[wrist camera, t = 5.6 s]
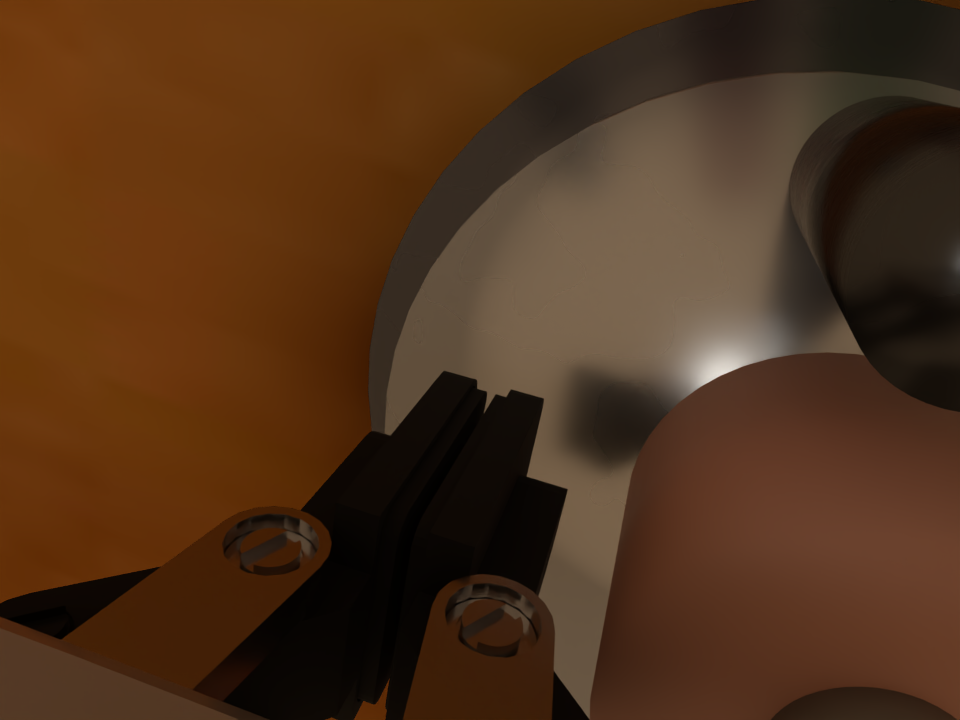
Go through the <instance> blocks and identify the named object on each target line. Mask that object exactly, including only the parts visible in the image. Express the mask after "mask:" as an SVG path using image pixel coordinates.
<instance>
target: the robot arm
mask: <svg viewBox="0 0 960 720" xmlns="http://www.w3.org/2000/svg"><path fill="white" fill-rule="evenodd" d="M486 400H487V391H483V390H480V389H477V380H476V379H473V378H469V377H466V376H462V375H458V374H455V373H451V372H448V371H443V372H442V373H441V374H440V375H439V377H438V378H437V379H436V380H435V382H434V383H433V384H432V385H431V386H430V388H429V389H428V390H427V391H426V393H425V394H424V395H423V396H422V397H421V399H420V400H419V401H418V402H417V404H416V405H415V406H414V407H413V408H412V410H411V411H410V412H409V413H408V415H407V416H406V417H405V418H404V420H403V421H402V422H401V423H400V424H399V426H398V427H397V428H396V429H395V431H394V432H393V433H392V434H391V435H387V434H383V433H380V432H377V431H371V432H370V433H369V434H368V435H366V437H365V438H364V439H363V440H362V441H361V442H360V443H359V444H358V446H357V447H356V448H355V449H354V450H353V451H352V452H351V454H350V455H349V456H348V457H347V458H346V459H345V460H344V462H343V463H342V464H341V465H340V466H339V467H338V468H337V469H336V471H335V472H334V473H333V474H332V475H331V476H330V477H329V479H328V480H327V481H326V482H325V483H324V484H323V485H322V487H321V488H320V489H319V490H318V491H317V492H316V493H315V495H314V496H313V497H312V498H311V499H310V500H309V501H308V502H307V504H306V505H305V506H304V507H303V508H302V509H301V510H296V509H293V508H287V507H278V506H269V507H257V508H253V509H250V510H246V511H242V512H239V513H237V514H235V515H234V516H232V517H230V518H228V519H226V520H224V521H223V522H222V523H220V524H219V525H218V526H216V527H215V528H214V529H212V530H211V531H209V532H208V533H207V534H205V535H204V536H203V537H201V538H200V539H198V540H197V541H196V542H194V543H193V544H192V545H190V546H189V547H187V548H186V549H185V550H183V551H182V552H181V553H179V554H178V555H177V556H175V557H174V558H172V559H171V560H170V561H168V562H167V563H166V564H164V565H163V566H161V567H157V568H152V569H147V570H142V571H137V572H132V573H127V574H122V575H117V576H112V577H107V578H103V579H98V580H93V581H88V582H83V583H78V584H73V585H68V586H63V587H58V588H53V589H48V590H43V591H38V592H33V593H29V594H26V595H22V596H19V597H16V598H12V599H9V600H6V601H4V602H2V603H0V720H325V719H328V718H331V717H332V718H335V719H337V720H354V718H355V716H356V714H357V712H358V710H359V708H360V706H361V705H362V703H363V701H366V702H368V703H371V704H376V703H377V702H378V700H379V698H380V696H381V694H382V692H383V690H384V688H385V686H386V684H387V682H388V680H389V678H390V680H389V686H388V692H387V699H386V706H385V707H386V709H387V713H386V719H385V720H590V719H589V718H588V717H587V715H586V714H585V713H584V711H583V710H582V708H581V707H580V706H579V704H578V703H577V702H576V700H575V699H574V698H573V696H572V695H571V693H570V692H569V691H568V689H567V688H566V687H565V685H564V684H563V683H562V681H561V680H560V678H559V677H558V676H557V674H556V673H555V672H554V649H555V628H554V621H553V617H552V615H551V613H550V611H549V609H548V608H547V606H546V604H545V603H544V602H543V601H542V600H541V599H540V598H539V597H538V596H539V593H540V590H541V586H542V583H543V579H544V576H545V573H546V569H547V566H548V562H549V558H550V555H551V551H552V548H553V544H554V540H555V537H556V533H557V529H558V525H559V522H560V518H561V514H562V510H563V507H564V503H565V499H566V495H567V491H568V489H566V488H563V487H560V486H556V485H553V484H550V483H546V482H543V481H540V480H536V479H533V478H530V477H527V473H528V469H529V465H530V460H531V456H532V452H533V448H534V443H535V439H536V435H537V430H538V426H539V422H540V418H541V413H542V409H543V404H544V398H541V397H537V396H533V395H530V394H526V393H523V392H519V391H516V390H512V389H511V390H510V391H509V393H508V395H507V397H504V396H501V395H497V394H496V395H495V396H494V398H493V399H492V401H491V403H490V404H489V406H488V408H487V409H486V411H485V413H484V410H485V405H486Z"/></svg>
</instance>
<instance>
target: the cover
mask: <svg viewBox="0 0 960 720" xmlns="http://www.w3.org/2000/svg"><path fill="white" fill-rule="evenodd" d="M590 720H960V412H956V411H951V410H946V409H942V408H939V407H936V406H933V405H930V404H927V403H924V402H922V401H920V400H918V399H916V398H913V397H911V396H909V395H908V394H906V393H904V392H903V391H901V390H900V389H898V388H896V387H895V386H893V385H892V384H891V383H890V382H889V381H887V380H886V379H885V378H884V377H882V376H881V375H880V374H879V373H878V371H877V370H876V369H875V368H874V367H873V366H872V365H871V364H870V363H869V361H868V360H867V358H866V357H865V355H859V354H846V353H830V352H825V353H806V354H795V355H789V356H783V357H777V358H770V359H767V360H763V361H760V362H756V363H753V364H749V365H746V366H743V367H740V368H738V369H736V370H733V371H731V372H728V373H726V374H724V375H721V376H719V377H717V378H715V379H714V380H712V381H710V382H708V383H707V384H705V385H703V386H701V387H700V388H698V389H696V390H695V391H694V392H692V393H691V394H690V395H688V396H687V397H686V398H684V399H683V400H682V401H680V402H679V403H678V404H677V405H676V406H675V407H674V408H673V409H672V410H671V411H670V412H669V413H668V414H667V415H666V416H665V417H664V418H663V419H662V420H661V421H660V422H659V424H658V425H657V426H656V428H655V429H654V430H653V431H652V433H651V434H650V435H649V437H648V439H647V440H646V442H645V444H644V446H643V448H642V449H641V451H640V453H639V455H638V458H637V460H636V463H635V466H634V468H633V471H632V474H631V479H630V484H629V489H628V494H627V500H626V505H625V510H624V516H623V521H622V527H621V532H620V538H619V543H618V549H617V554H616V560H615V565H614V571H613V576H612V582H611V587H610V592H609V598H608V603H607V609H606V614H605V620H604V625H603V631H602V636H601V642H600V647H599V653H598V658H597V664H596V669H595V674H594V680H593V685H592V691H591V696H590Z"/></svg>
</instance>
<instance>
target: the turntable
mask: <svg viewBox="0 0 960 720" xmlns="http://www.w3.org/2000/svg"><path fill="white" fill-rule="evenodd" d="M825 352H830V353H846V354H859V355H865V357H866V358H867V360H868V361H869V363H870V364H871V365H872V366H873V367H874V368H875V369H876V370H877V371H878V373H879V374H880V375H881V376H882V377H884V378H885V379H886V380H887V381H889V382H890V383H891V384H892V385H893V386H895V387H896V388H898V389H900V390H901V391H903V392H904V393H906V394H908V395H909V396H911V397H913V398H916V399H918V400H920V401H922V402H924V403H927V404H930V405H933V406H936V407H939V408H942V409H946V410H951V411H956V412H960V91H958V90H954V89H950V88H946V87H942V86H938V85H934V84H930V83H926V82H922V81H918V80H911V79H904V78H896V77H887V76H878V75H869V74H860V73H851V72H842V71H787V72H765V73H759V74H752V75H746V76H739V77H733V78H726V79H719V80H713V81H707V82H704V83H700V84H697V85H693V86H690V87H686V88H683V89H679V90H676V91H672V92H669V93H665V94H662V95H658V96H655V97H652V98H649V99H647V100H645V101H642V102H640V103H638V104H635V105H633V106H631V107H628V108H626V109H624V110H621V111H619V112H617V113H614V114H612V115H610V116H608V117H605V118H603V119H601V120H599V121H597V122H595V123H594V124H592V125H590V126H589V127H587V128H585V129H584V130H582V131H580V132H579V133H577V134H575V135H573V136H572V137H570V138H568V139H567V140H565V141H563V142H562V143H560V144H558V145H557V146H555V147H553V148H552V149H550V150H548V151H547V152H545V153H544V154H542V155H540V156H539V157H537V158H536V159H535V160H533V161H532V162H531V163H530V164H528V165H527V166H526V167H525V168H523V169H522V170H521V171H520V172H518V173H517V174H516V175H515V176H513V177H512V178H511V179H510V180H508V181H507V182H506V183H505V184H503V185H502V186H501V187H500V188H498V189H497V190H496V191H495V192H494V193H493V194H492V195H491V196H490V197H489V198H488V199H487V200H486V201H485V202H484V203H483V204H482V205H481V206H480V207H479V208H478V209H477V210H476V212H475V213H474V214H473V215H472V216H471V217H470V218H469V219H468V220H467V221H466V222H465V223H464V224H463V225H462V226H461V227H460V228H459V230H458V231H457V232H456V234H455V235H454V237H453V238H452V239H451V241H450V242H449V244H448V245H447V246H446V248H445V249H444V251H443V252H442V253H441V255H440V256H439V257H438V259H437V260H436V262H435V263H434V264H433V266H432V267H431V269H430V271H429V273H428V275H427V276H426V278H425V280H424V282H423V284H422V286H421V288H420V290H419V292H418V294H417V296H416V298H415V300H414V301H413V303H412V305H411V307H410V309H409V312H408V315H407V318H406V321H405V323H404V326H403V329H402V332H401V335H400V338H399V341H398V343H397V346H396V349H395V353H394V358H393V363H392V368H391V373H390V379H389V384H388V389H387V399H386V418H385V434H387V435H391V434H392V433H393V432H394V431H395V429H396V428H397V427H398V426H399V424H400V423H401V422H402V421H403V420H404V418H405V417H406V416H407V415H408V413H409V412H410V411H411V410H412V408H413V407H414V406H415V405H416V404H417V402H418V401H419V400H420V399H421V397H422V396H423V395H424V394H425V393H426V391H427V390H428V389H429V388H430V386H431V385H432V384H433V383H434V382H435V380H436V379H437V378H438V377H439V375H440V374H441V373H442V372H443V371H448V372H451V373H455V374H458V375H462V376H466V377H469V378H473V379H476V380H477V389H480V390H483V391H487V400H486V405H485V410H484V413H485V411H486V409H487V408H488V406H489V404H490V403H491V401H492V399H493V398H494V396H495V395H496V394H497V395H501V396H504V397H507V395H508V393H509V391H510V390H511V389H512V390H516V391H519V392H523V393H526V394H530V395H533V396H537V397H541V398H544V404H543V409H542V413H541V418H540V422H539V426H538V430H537V435H536V439H535V443H534V448H533V452H532V456H531V460H530V465H529V469H528V473H527V477H530V478H533V479H536V480H540V481H543V482H546V483H550V484H553V485H556V486H560V487H563V488H566V489H568V491H567V495H566V499H565V503H564V507H563V510H562V514H561V518H560V522H559V525H558V529H557V533H556V537H555V540H554V544H553V548H552V551H551V555H550V558H549V562H548V566H547V569H546V573H545V576H544V579H543V583H542V586H541V590H540V593H539V596H538V597H539V598H540V599H541V600H542V601H543V602H544V603H545V604H546V606H547V608H548V609H549V611H550V613H551V615H552V617H553V621H554V628H555V649H554V672H555V673H556V674H557V676H558V677H559V678H560V680H561V681H562V683H563V684H564V685H565V687H566V688H567V689H568V691H569V692H570V693H571V695H572V696H573V698H574V699H575V700H576V702H577V703H578V704H579V706H580V707H581V708H582V710H583V711H584V713H585V714H586V715H587V717H588V718H589V719H590V696H591V691H592V685H593V680H594V674H595V669H596V664H597V658H598V653H599V647H600V642H601V636H602V631H603V625H604V620H605V614H606V609H607V603H608V598H609V592H610V587H611V582H612V576H613V571H614V565H615V560H616V554H617V549H618V543H619V538H620V532H621V527H622V521H623V516H624V510H625V505H626V500H627V494H628V489H629V484H630V479H631V474H632V471H633V468H634V466H635V463H636V460H637V458H638V455H639V453H640V451H641V449H642V448H643V446H644V444H645V442H646V440H647V439H648V437H649V435H650V434H651V433H652V431H653V430H654V429H655V428H656V426H657V425H658V424H659V422H660V421H661V420H662V419H663V418H664V417H665V416H666V415H667V414H668V413H669V412H670V411H671V410H672V409H673V408H674V407H675V406H676V405H677V404H678V403H679V402H680V401H682V400H683V399H684V398H686V397H687V396H688V395H690V394H691V393H692V392H694V391H695V390H696V389H698V388H700V387H701V386H703V385H705V384H707V383H708V382H710V381H712V380H714V379H715V378H717V377H719V376H721V375H724V374H726V373H728V372H731V371H733V370H736V369H738V368H740V367H743V366H746V365H749V364H753V363H756V362H760V361H763V360H767V359H770V358H777V357H783V356H789V355H795V354H806V353H825Z"/></svg>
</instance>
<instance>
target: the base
mask: <svg viewBox="0 0 960 720" xmlns="http://www.w3.org/2000/svg"><path fill="white" fill-rule="evenodd" d="M787 71H842V72H851V73H860V74H869V75H878V76H887V77H896V78H904V79H911V80H918V81H922V82H926V83H930V84H934V85H938V86H942V87H946V88H950V89H954V90H958V91H960V10H959V9H955V8H950V7H946V6H942V5H938V4H933V3H929V2H925V1H919V0H755V1H749V2H744V3H738V4H733V5H727V6H722V7H716V8H711V9H705V10H700V11H697V12H694V13H691V14H688V15H685V16H682V17H679V18H675V19H672V20H669V21H666V22H663V23H660V24H657V25H654V26H650V27H647V28H644V29H641V30H638V31H635V32H633V33H631V34H629V35H627V36H624V37H622V38H620V39H618V40H616V41H614V42H612V43H610V44H608V45H605V46H603V47H601V48H599V49H597V50H595V51H593V52H591V53H589V54H586V55H584V56H582V57H580V58H578V59H576V60H574V61H573V62H571V63H570V64H568V65H567V66H565V67H564V68H562V69H560V70H559V71H557V72H556V73H554V74H553V75H551V76H550V77H548V78H546V79H545V80H543V81H542V82H540V83H539V84H537V85H536V86H534V87H533V88H531V89H529V90H528V91H526V92H525V93H523V94H522V95H521V96H520V97H519V98H518V99H516V100H515V101H514V102H513V103H512V104H511V105H509V106H508V107H507V108H506V109H505V110H504V111H502V112H501V113H500V114H499V115H498V116H497V117H495V118H494V119H493V120H492V121H491V122H489V123H488V124H487V125H486V126H485V127H484V128H482V129H481V130H480V131H479V132H478V133H477V134H476V136H475V137H474V138H473V139H472V140H471V141H470V142H469V143H468V145H467V146H466V147H465V148H464V149H463V150H462V151H461V152H460V153H459V155H458V156H457V157H456V158H455V159H454V160H453V161H452V162H451V164H450V165H449V166H448V167H447V168H446V169H445V170H444V171H443V173H442V174H441V176H440V177H439V179H438V180H437V182H436V183H435V185H434V186H433V188H432V189H431V191H430V192H429V193H428V195H427V196H426V198H425V199H424V201H423V202H422V204H421V205H420V207H419V208H418V210H417V211H416V213H415V214H414V216H413V218H412V220H411V222H410V224H409V226H408V228H407V230H406V232H405V235H404V237H403V239H402V241H401V243H400V245H399V247H398V249H397V251H396V253H395V255H394V257H393V259H392V262H391V265H390V268H389V271H388V274H387V277H386V281H385V284H384V287H383V290H382V293H381V296H380V299H379V302H378V306H377V312H376V317H375V323H374V329H373V334H372V340H371V345H370V361H369V386H368V394H369V404H370V415H371V426H372V431H377V432H380V433H383V434H385V418H386V399H387V389H388V384H389V379H390V373H391V368H392V363H393V358H394V353H395V349H396V346H397V343H398V341H399V338H400V335H401V332H402V329H403V326H404V323H405V321H406V318H407V315H408V312H409V309H410V307H411V305H412V303H413V301H414V300H415V298H416V296H417V294H418V292H419V290H420V288H421V286H422V284H423V282H424V280H425V278H426V276H427V275H428V273H429V271H430V269H431V267H432V266H433V264H434V263H435V262H436V260H437V259H438V257H439V256H440V255H441V253H442V252H443V251H444V249H445V248H446V246H447V245H448V244H449V242H450V241H451V239H452V238H453V237H454V235H455V234H456V232H457V231H458V230H459V228H460V227H461V226H462V225H463V224H464V223H465V222H466V221H467V220H468V219H469V218H470V217H471V216H472V215H473V214H474V213H475V212H476V210H477V209H478V208H479V207H480V206H481V205H482V204H483V203H484V202H485V201H486V200H487V199H488V198H489V197H490V196H491V195H492V194H493V193H494V192H495V191H496V190H497V189H498V188H500V187H501V186H502V185H503V184H505V183H506V182H507V181H508V180H510V179H511V178H512V177H513V176H515V175H516V174H517V173H518V172H520V171H521V170H522V169H523V168H525V167H526V166H527V165H528V164H530V163H531V162H532V161H533V160H535V159H536V158H537V157H539V156H540V155H542V154H544V153H545V152H547V151H548V150H550V149H552V148H553V147H555V146H557V145H558V144H560V143H562V142H563V141H565V140H567V139H568V138H570V137H572V136H573V135H575V134H577V133H579V132H580V131H582V130H584V129H585V128H587V127H589V126H590V125H592V124H594V123H595V122H597V121H599V120H601V119H603V118H605V117H608V116H610V115H612V114H614V113H617V112H619V111H621V110H624V109H626V108H628V107H631V106H633V105H635V104H638V103H640V102H642V101H645V100H647V99H649V98H652V97H655V96H658V95H662V94H665V93H669V92H672V91H676V90H679V89H683V88H686V87H690V86H693V85H697V84H700V83H704V82H707V81H713V80H719V79H726V78H733V77H739V76H746V75H752V74H759V73H765V72H787Z"/></svg>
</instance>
